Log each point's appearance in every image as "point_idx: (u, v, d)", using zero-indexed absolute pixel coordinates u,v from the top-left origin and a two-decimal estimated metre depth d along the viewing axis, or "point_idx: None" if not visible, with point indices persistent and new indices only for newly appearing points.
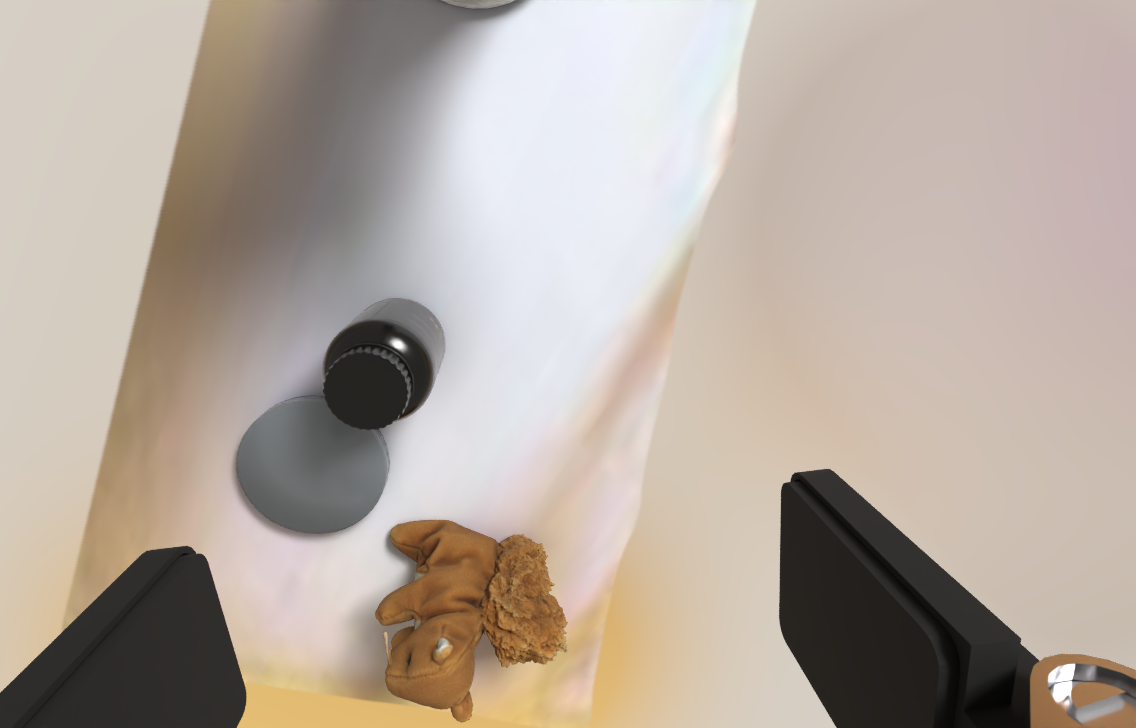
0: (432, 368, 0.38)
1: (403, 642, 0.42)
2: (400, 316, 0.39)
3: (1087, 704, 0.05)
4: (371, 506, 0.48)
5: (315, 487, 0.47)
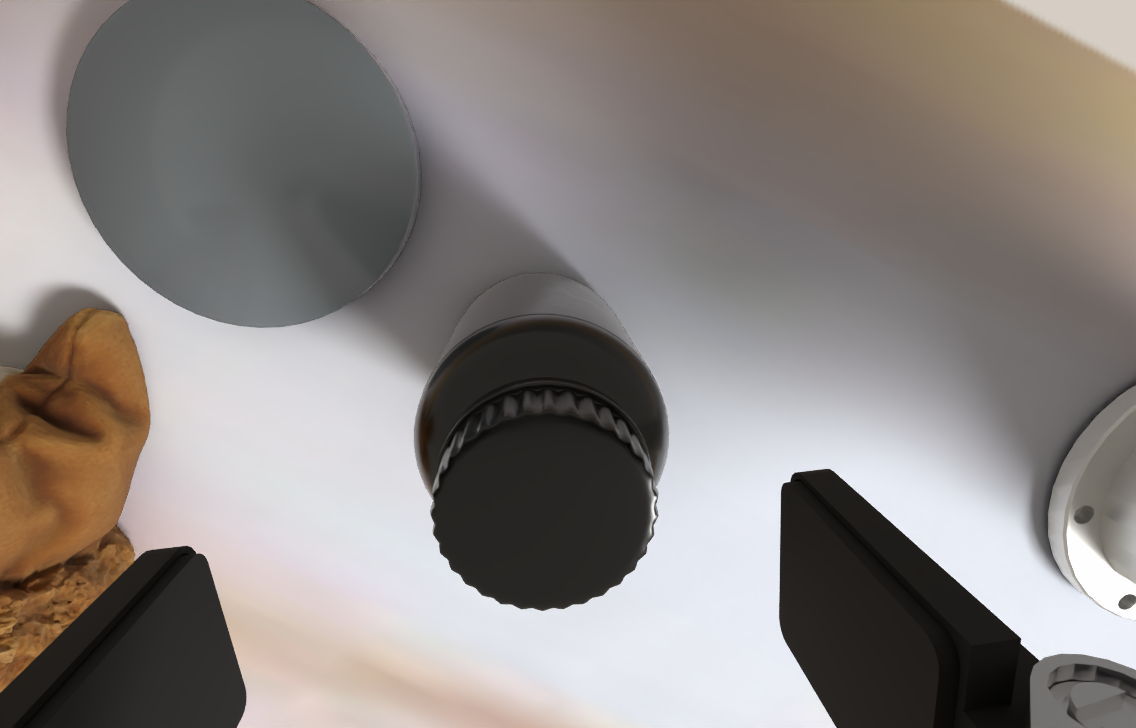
0: None
1: None
2: None
3: (1087, 704, 0.05)
4: (163, 290, 0.21)
5: (198, 167, 0.20)
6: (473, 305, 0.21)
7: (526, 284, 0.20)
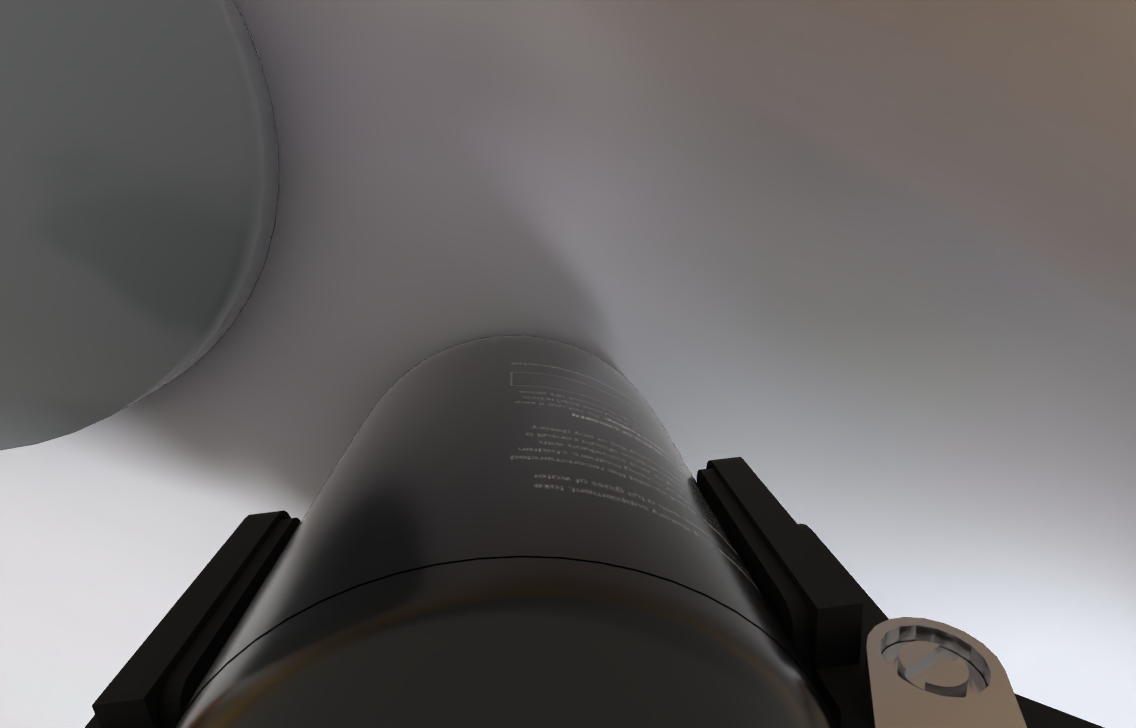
0: None
1: None
2: None
3: (912, 663, 0.06)
4: None
5: None
6: (376, 413, 0.10)
7: (481, 377, 0.09)
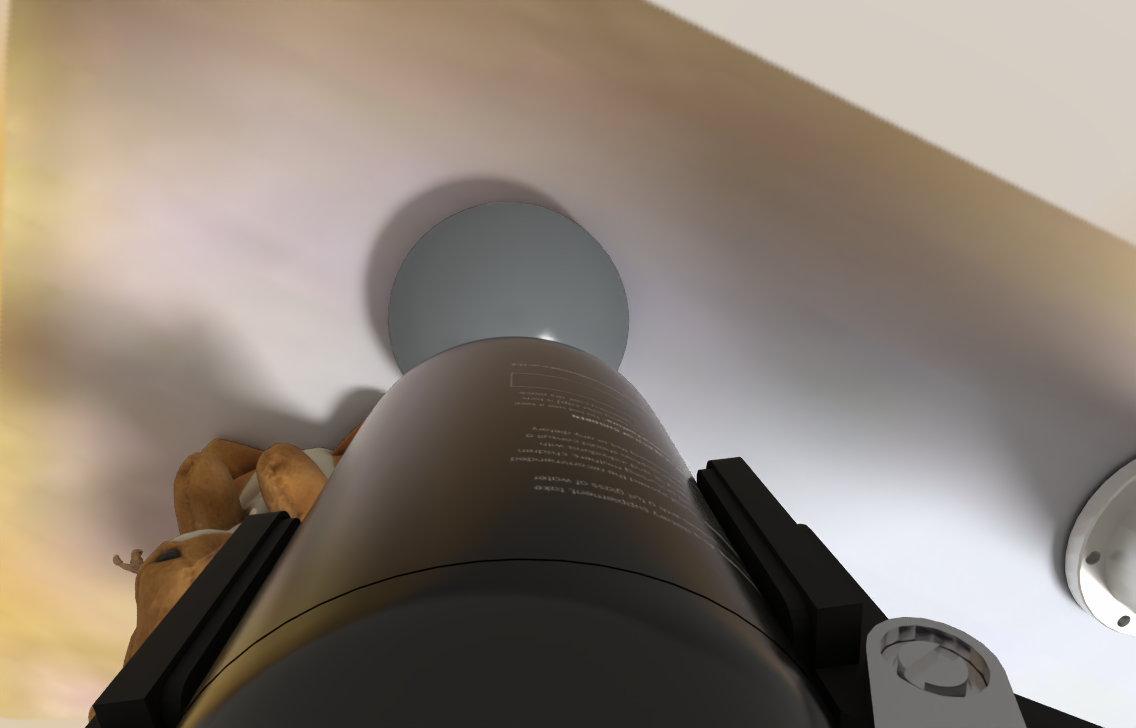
0: None
1: None
2: None
3: (912, 662, 0.06)
4: None
5: (478, 328, 0.28)
6: (375, 414, 0.10)
7: (481, 378, 0.09)
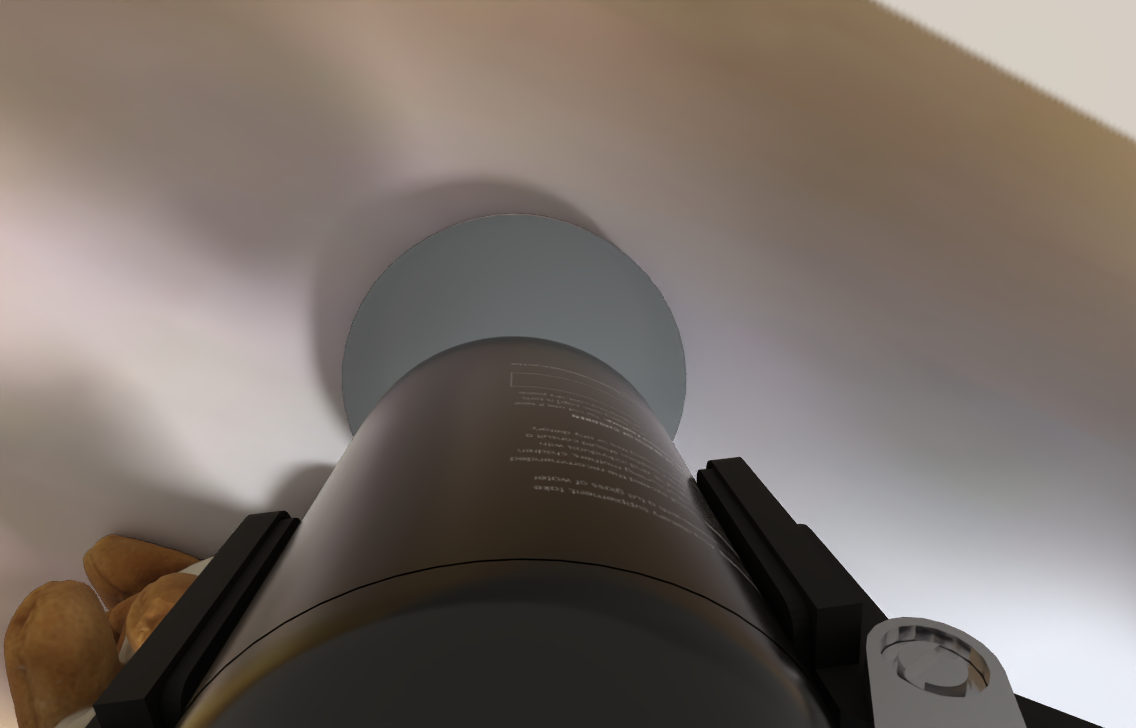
0: None
1: None
2: None
3: (912, 662, 0.06)
4: None
5: None
6: (375, 414, 0.10)
7: (481, 378, 0.09)
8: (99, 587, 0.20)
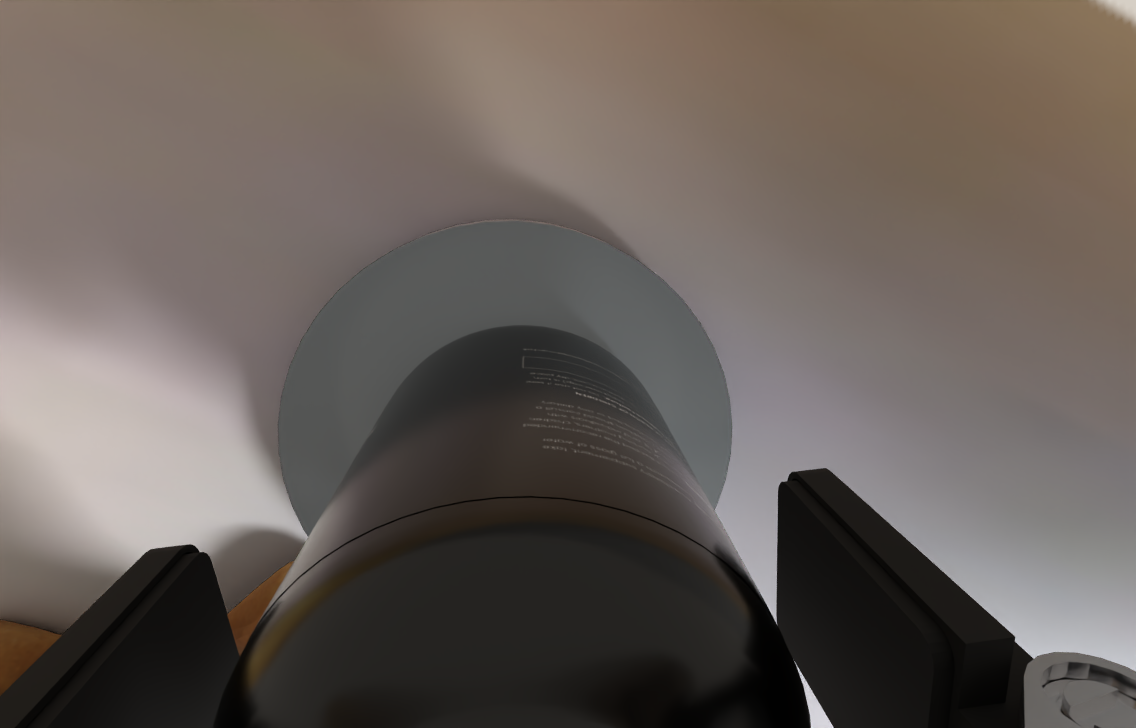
0: None
1: None
2: None
3: (1080, 702, 0.05)
4: None
5: None
6: (402, 391, 0.12)
7: (497, 361, 0.11)
8: None
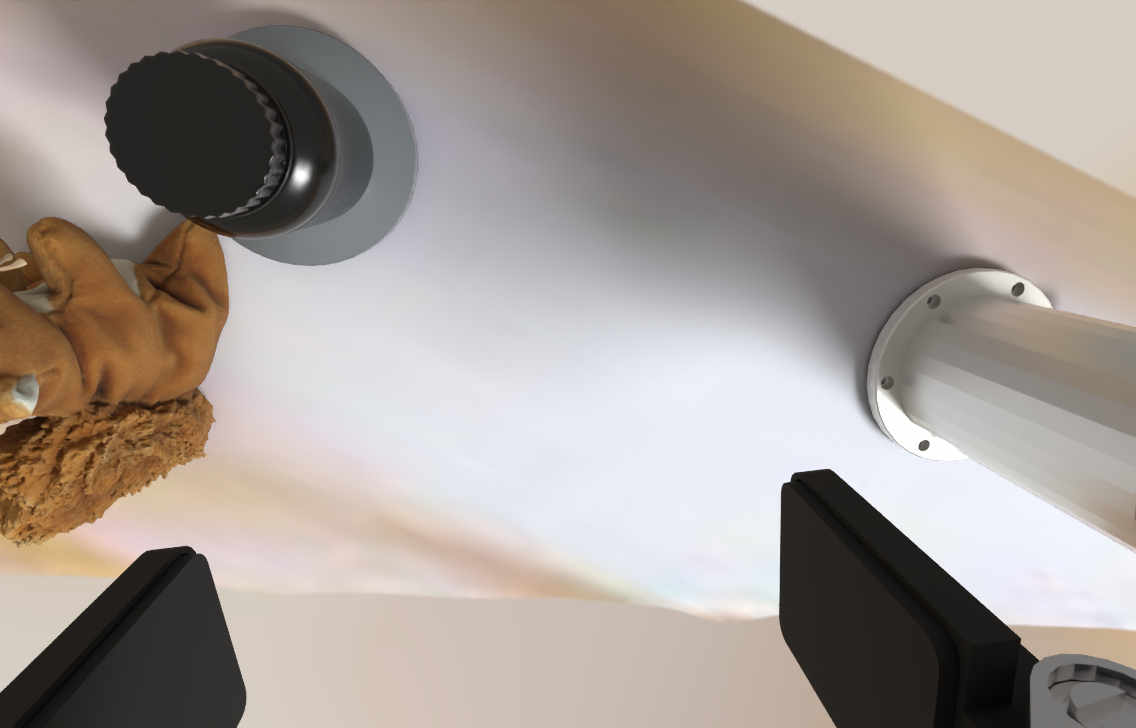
0: (259, 238, 0.22)
1: (6, 297, 0.22)
2: (346, 177, 0.24)
3: (1087, 704, 0.05)
4: (242, 241, 0.30)
5: None
6: None
7: None
8: None
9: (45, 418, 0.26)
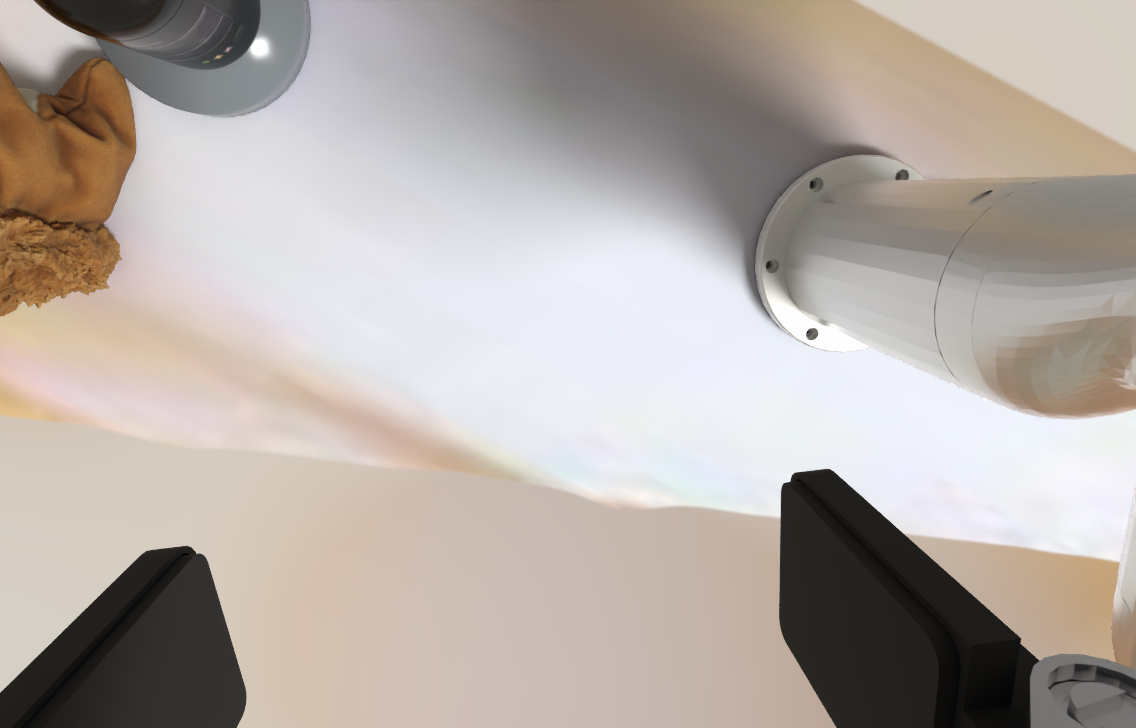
0: (115, 36, 0.25)
1: None
2: None
3: (1087, 704, 0.05)
4: (141, 86, 0.33)
5: None
6: None
7: None
8: None
9: None
